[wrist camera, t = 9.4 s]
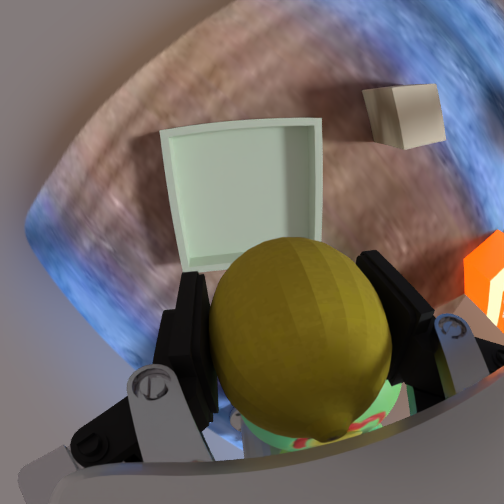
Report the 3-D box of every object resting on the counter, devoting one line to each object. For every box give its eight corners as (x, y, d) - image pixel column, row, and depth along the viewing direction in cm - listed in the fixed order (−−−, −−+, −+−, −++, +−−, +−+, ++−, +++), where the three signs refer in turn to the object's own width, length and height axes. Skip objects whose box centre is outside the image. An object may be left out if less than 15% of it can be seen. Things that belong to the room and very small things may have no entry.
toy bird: (380, 279, 30) (453, 371, 17) (360, 371, 38) (397, 449, 24) (222, 306, 29) (231, 435, 16) (242, 395, 37) (254, 487, 23)
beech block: (413, 132, 22) (445, 140, 18) (373, 141, 23) (404, 149, 18) (403, 85, 20) (436, 83, 16) (361, 90, 20) (391, 87, 16)
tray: (312, 246, 27) (320, 258, 24) (185, 260, 26) (183, 274, 24) (311, 117, 21) (321, 117, 19) (165, 129, 20) (159, 130, 18)
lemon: (186, 286, 12) (171, 463, 5) (259, 179, 10) (347, 320, 3) (283, 331, 14) (326, 476, 7) (356, 249, 12) (464, 380, 5)
